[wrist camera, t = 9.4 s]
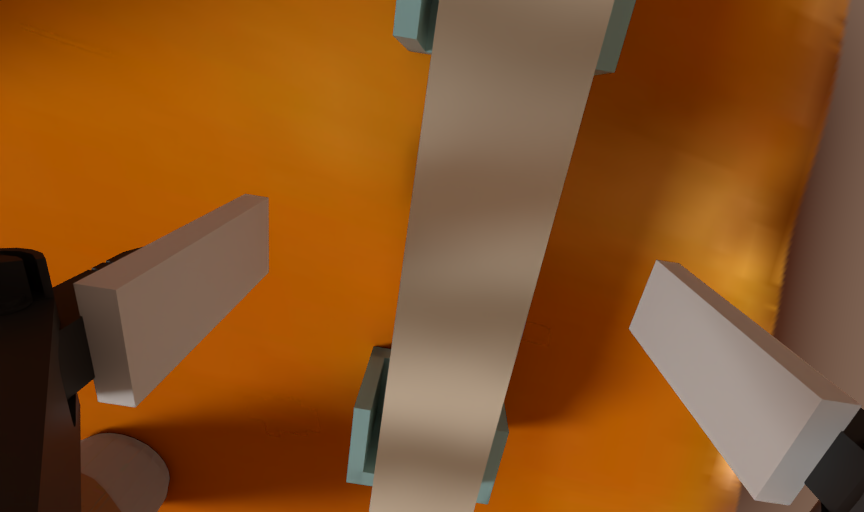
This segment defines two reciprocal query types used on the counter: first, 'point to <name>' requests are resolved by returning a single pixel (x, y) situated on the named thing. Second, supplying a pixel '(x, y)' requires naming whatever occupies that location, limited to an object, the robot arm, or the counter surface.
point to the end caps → (415, 35)
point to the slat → (478, 234)
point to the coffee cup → (121, 475)
